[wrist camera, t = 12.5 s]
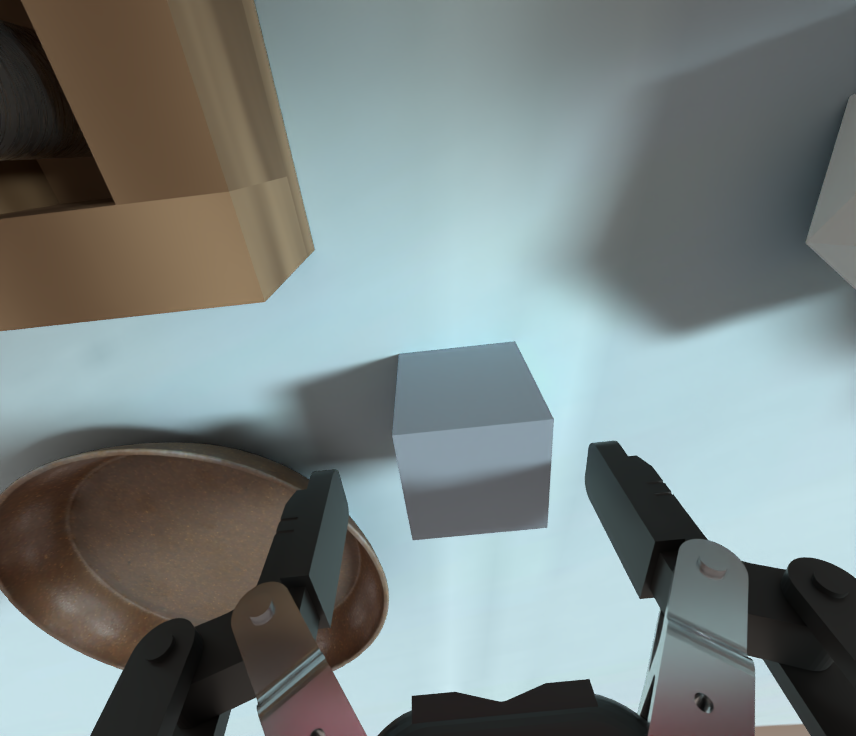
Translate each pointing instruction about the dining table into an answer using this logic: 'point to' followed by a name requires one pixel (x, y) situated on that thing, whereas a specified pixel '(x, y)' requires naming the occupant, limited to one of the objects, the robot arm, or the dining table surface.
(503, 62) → the dining table surface
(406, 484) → the slate block
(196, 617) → the plant saucer
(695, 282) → the dining table surface
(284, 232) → the bore block
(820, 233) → the die
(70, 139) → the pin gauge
